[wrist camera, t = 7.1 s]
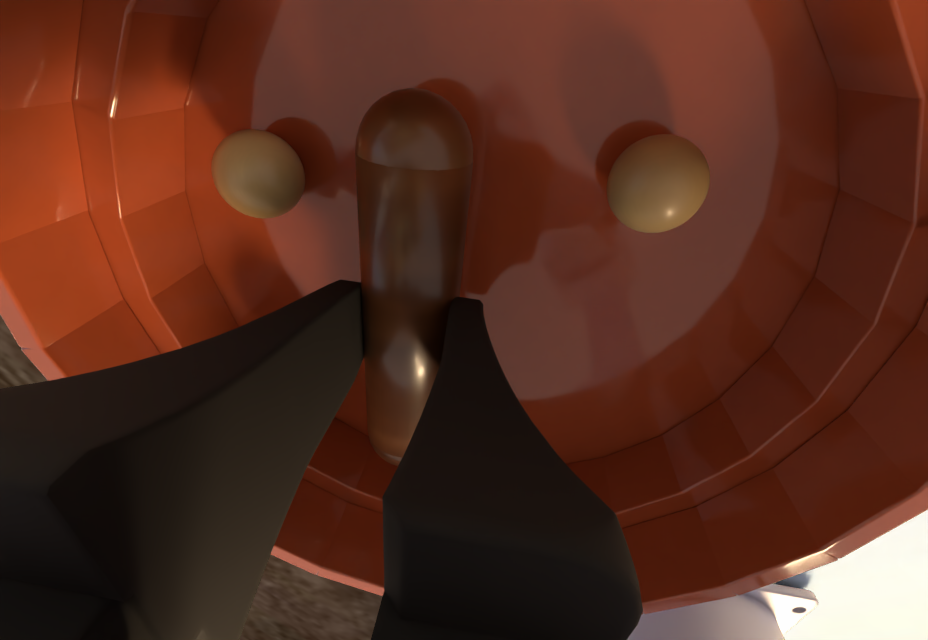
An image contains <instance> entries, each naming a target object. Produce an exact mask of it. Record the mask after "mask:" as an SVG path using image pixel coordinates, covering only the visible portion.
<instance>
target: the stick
mask: <svg viewBox="0 0 928 640" xmlns="http://www.w3.org/2000/svg"><path fill="white" fill-rule="evenodd" d="M355 162H356V184H357V206H358V228H359V250H360V272H361V294H362V316H363V339H364V361H365V383H366V405H367V427H368V435H369V440H370V443H371V445H372V446H373V448H374V450H375V452H376V453H377V454H378V455H379V456H380V457H381V458H382V459H384V460H385V461H386V462H388V463H390V464H393V465H396V466H398V465H399V463H400V461H401V459H402V457H403V455H404V453H405V451H406V449H407V447H408V445H409V442H410V440H411V438H412V436H413V433H414V431H415V429H416V426H417V424H418V422H419V419H420V417H421V415H422V412H423V410H424V407H425V404H426V402H427V399H428V397H429V394H430V392H431V389H432V386H433V383H434V380H435V378H436V375H437V372H438V369H439V366H440V362H441V358H442V353H443V347H444V340H445V333H446V327H447V320H448V314H449V308H450V306H451V303H452V301H453V299H454V298H456V297H460V287H461V278H462V268H463V258H464V248H465V238H466V228H467V218H468V208H469V198H470V188H471V178H472V168H473V143H472V138H471V134H470V131H469V129H468V126H467V123H466V122H465V120H464V119H463V117H462V115H461V114H460V112H459V111H458V110H457V109H456V108H455V107H454V106H453V105H452V104H451V103H450V102H449V101H447V100H446V99H445V98H443V97H442V96H440V95H438V94H436V93H434V92H431V91H429V90H425V89H418V88H404V89H400V90H395V91H392V92H390V93H388V94H386V95H384V96H382V97H381V98H380V99H378V100H377V101H376V102H375V103H374V104H372V106H371V107H370V108H369V109H368V111H367V112H366V113H365V115H364V117H363V119H362V121H361V123H360V125H359V128H358V132H357V136H356V144H355Z"/></svg>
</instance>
